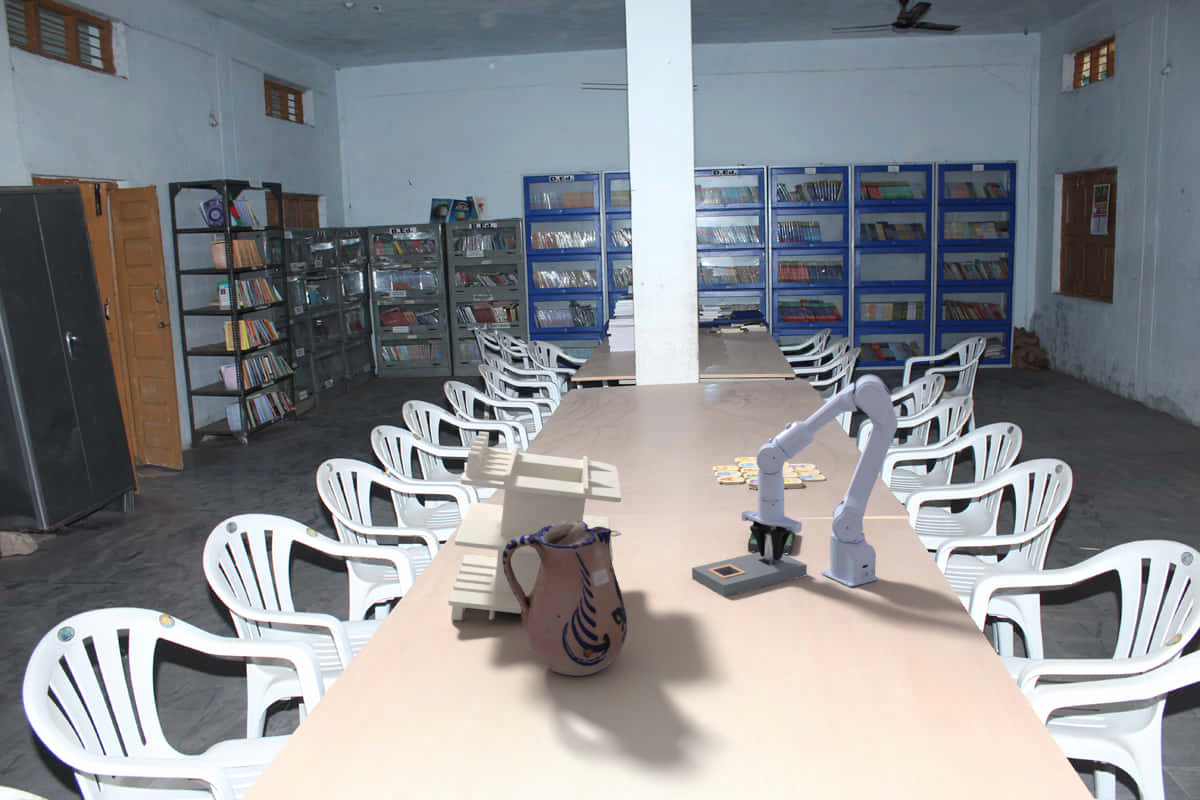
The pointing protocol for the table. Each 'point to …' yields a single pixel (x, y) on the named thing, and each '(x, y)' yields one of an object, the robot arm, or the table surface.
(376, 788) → the table surface
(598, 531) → the ceramic pitcher
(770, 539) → the steel pin
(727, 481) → the alphabet tiles
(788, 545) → the disk drive
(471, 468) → the desk organizer
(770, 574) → the dock plate
